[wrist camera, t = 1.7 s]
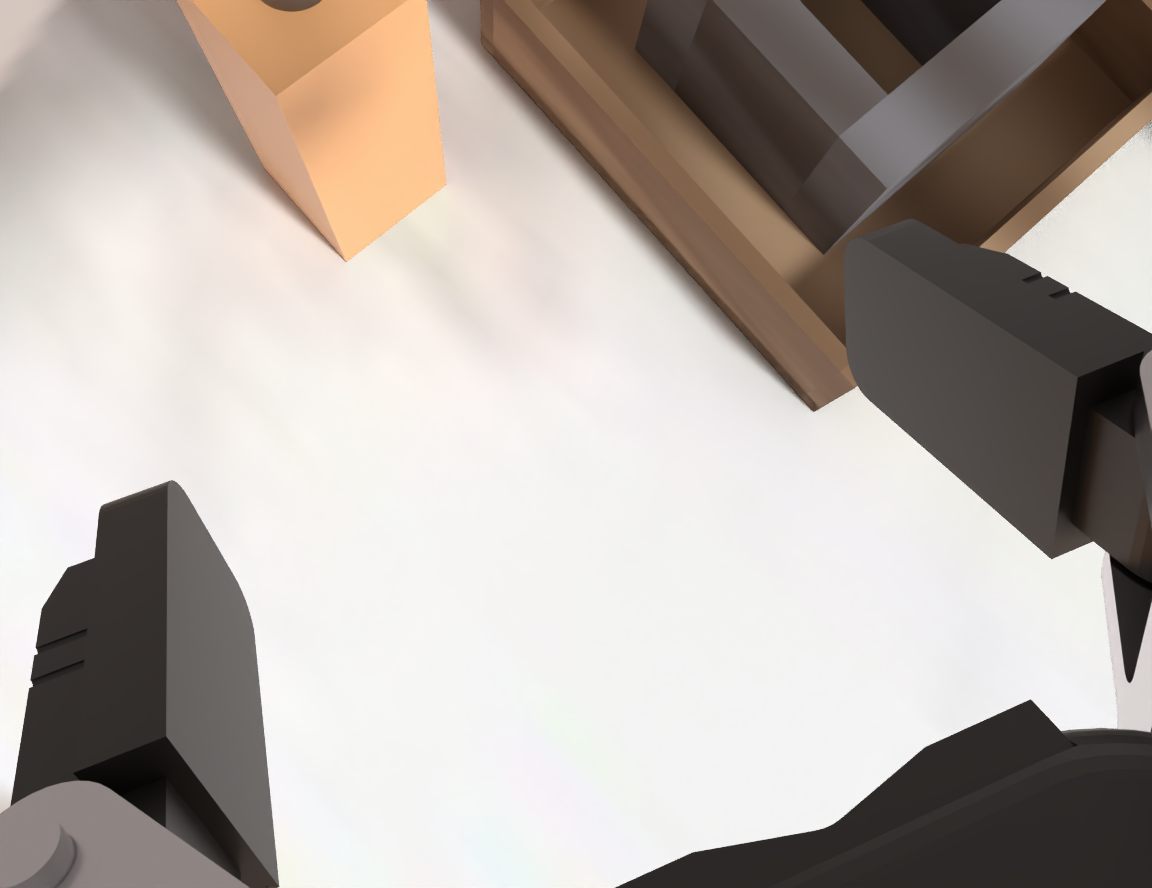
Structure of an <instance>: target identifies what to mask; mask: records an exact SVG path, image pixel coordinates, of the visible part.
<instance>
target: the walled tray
mask: <svg viewBox="0 0 1152 888" xmlns="http://www.w3.org/2000/svg"><path fill="white" fill-rule="evenodd" d="M480 8H481V43H482V44H483V45H484V47H485V48H486V49H487V50H488V51H489V52H490V53H491V54H492V55H493V57H494V58H495V59H496V60H497V61H498V62H499V63H500V64H501V65H502V66H503V68H504V69H505V70H506V71H507V72H508V73H509V74H510V75H511V76H512V78H513V79H514V80H515V81H516V82H517V83H518V84H519V85H520V86H521V88H522V89H523V90H524V91H525V92H526V93H527V94H528V95H529V96H530V98H531V99H532V100H533V101H534V102H535V103H536V104H537V105H538V106H539V108H540V109H541V110H542V111H543V112H544V113H545V114H546V115H547V116H548V118H549V119H550V120H551V121H552V122H553V123H554V124H555V125H556V126H557V127H558V129H559V130H560V131H561V132H562V133H563V134H564V135H565V136H566V137H567V139H568V140H569V141H570V142H571V143H572V144H573V145H574V146H575V147H576V149H577V150H578V151H579V152H580V153H581V154H582V155H583V156H584V157H585V159H586V160H587V161H588V162H589V163H590V164H591V165H592V166H593V167H594V169H595V170H596V171H597V172H598V173H599V174H600V175H601V176H602V177H603V179H604V180H605V181H606V182H607V183H608V184H609V185H610V186H611V187H612V189H613V190H614V191H615V192H616V193H617V194H618V195H619V196H620V197H621V198H622V200H623V201H624V202H625V203H626V204H627V205H628V206H629V207H630V208H631V210H632V211H633V212H634V213H635V214H636V215H637V216H638V217H639V218H640V220H641V221H642V222H643V223H644V224H645V225H646V226H647V227H648V228H649V230H650V231H651V232H652V233H653V234H654V235H655V236H656V237H657V238H658V240H659V241H660V242H661V243H662V244H663V245H664V246H665V247H666V248H667V250H668V251H669V252H670V253H671V254H672V255H673V256H674V257H675V258H676V260H677V261H678V262H679V263H680V264H681V265H682V266H683V267H684V268H685V269H686V271H687V272H688V273H689V274H690V275H691V276H692V277H693V278H694V279H695V281H696V282H697V283H698V284H699V285H700V286H701V287H702V288H703V289H704V291H705V292H706V293H707V294H708V295H709V296H710V297H711V298H712V299H713V301H714V302H715V303H716V304H717V305H718V306H719V307H720V308H721V309H722V311H723V312H724V313H725V314H726V315H727V316H728V317H729V318H730V319H731V321H732V322H733V323H734V324H735V325H736V326H737V327H738V328H739V329H740V330H741V332H742V333H743V334H744V335H745V336H746V337H747V338H748V339H749V340H750V342H751V343H752V344H753V345H754V346H755V347H756V348H757V349H758V350H759V352H760V353H761V354H762V355H763V356H764V357H765V358H766V359H767V360H768V362H769V363H770V364H771V365H772V366H773V367H774V368H775V369H776V370H777V372H778V373H779V374H780V375H781V376H782V377H783V378H784V379H785V380H786V382H787V383H788V384H789V385H790V386H791V387H792V388H793V389H794V390H795V392H796V393H797V394H798V395H799V396H800V397H801V398H802V399H803V400H804V401H805V403H806V404H807V405H808V406H809V407H810V408H811V409H812V410H813V411H814V412H815V411H816V410H818V409H820V408H821V407H823V406H825V405H827V404H828V403H830V402H832V401H833V400H835V399H837V398H838V397H840V396H842V395H844V394H845V393H847V392H849V391H850V390H852V389H854V388H855V387H856V386H858V385H857V383H856V382H855V380H854V377H853V375H852V373H851V370H850V367H849V363H848V359H847V352H846V326H845V293H844V252H845V249H846V246H847V244H848V243H849V242H850V241H851V240H852V239H854V238H857V237H859V236H862V235H865V234H868V233H871V232H873V231H876V230H879V229H882V228H884V227H887V226H890V225H893V224H896V223H898V222H901V221H904V220H907V219H914V220H917V221H920V222H922V223H923V224H925V225H927V226H928V227H930V228H932V229H934V230H935V231H937V232H939V233H941V234H942V235H944V236H946V237H948V238H949V239H951V240H953V241H955V242H956V243H958V244H962V243H965V244H969V245H973V246H977V247H981V248H985V249H990V250H994V251H998V252H1002V253H1005V252H1006V251H1007V250H1008V249H1009V248H1010V247H1011V246H1012V245H1013V244H1015V243H1016V242H1017V241H1018V240H1019V239H1020V238H1021V237H1022V236H1023V235H1024V234H1026V233H1027V232H1028V231H1029V230H1030V229H1031V228H1032V227H1033V226H1034V225H1036V224H1037V223H1038V222H1039V221H1040V220H1041V219H1042V218H1043V217H1044V216H1045V215H1047V214H1048V213H1049V212H1050V211H1051V210H1052V209H1053V208H1054V207H1055V206H1057V205H1058V204H1059V203H1060V202H1061V201H1062V200H1063V199H1064V198H1065V197H1066V196H1068V195H1069V194H1070V193H1071V192H1072V191H1073V190H1074V189H1075V188H1076V187H1078V186H1079V185H1080V184H1081V183H1082V182H1083V181H1084V180H1085V179H1086V178H1087V177H1089V176H1090V175H1091V174H1092V173H1093V172H1094V171H1095V170H1096V169H1097V168H1099V167H1100V166H1101V165H1102V164H1103V163H1104V162H1105V161H1106V160H1107V159H1108V158H1110V157H1111V156H1112V155H1113V154H1114V153H1115V152H1116V151H1117V150H1118V149H1120V148H1121V147H1122V146H1123V145H1124V144H1125V143H1126V142H1127V141H1128V140H1129V139H1131V138H1132V137H1133V136H1134V135H1135V134H1136V133H1137V132H1138V131H1139V130H1141V129H1142V128H1143V127H1144V126H1145V125H1146V124H1147V123H1148V122H1149V121H1150V120H1152V0H480Z"/></svg>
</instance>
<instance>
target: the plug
mask: <svg viewBox="0 0 1152 888" xmlns="http://www.w3.org/2000/svg"><path fill="white" fill-rule="evenodd" d="M177 2H178V4H179V6H180V8H181V10H182V12H183V14H184V16H185V18H186V20H187V21H188V23H189V25H190V27H191V29H192V31H193V33H194V35H195V37H196V39H197V41H198V43H199V44H200V46H201V48H202V50H203V52H204V54H205V56H206V58H207V60H208V62H209V64H210V65H211V67H212V69H213V71H214V73H215V75H216V77H217V79H218V81H219V83H220V85H221V87H222V88H223V90H224V92H225V94H226V96H227V98H228V100H229V102H230V104H231V106H232V108H233V109H234V111H235V113H236V115H237V117H238V119H239V121H240V123H241V125H242V127H243V129H244V131H245V132H246V134H247V136H248V138H249V140H250V142H251V144H252V146H253V148H254V150H255V152H256V154H257V155H258V157H259V159H260V161H261V163H262V165H263V167H264V168H265V169H266V170H267V172H268V173H269V174H270V175H271V176H272V177H273V178H274V180H275V181H276V182H277V183H278V184H279V185H280V186H281V188H282V189H283V190H284V191H285V192H286V193H287V195H288V196H289V197H290V198H291V199H292V200H293V201H294V203H295V204H296V205H297V206H298V207H299V208H300V209H301V211H302V212H303V213H304V214H305V215H306V216H307V217H308V219H309V220H310V221H311V222H312V223H313V224H314V225H315V227H316V228H317V229H318V230H319V231H320V232H321V234H322V235H323V236H324V237H325V238H326V239H327V240H328V242H329V243H330V244H331V245H332V246H333V247H334V248H335V250H336V251H337V252H338V253H339V254H340V255H341V256H342V258H343V259H344V260H345V261H346V262H347V261H348V260H350V259H351V258H352V257H353V256H355V255H356V254H357V253H359V252H360V251H361V250H362V249H364V248H365V247H366V246H368V245H369V244H370V243H372V242H373V241H374V240H375V239H377V238H378V237H379V236H381V235H382V234H383V233H384V232H386V231H387V230H388V229H390V228H391V227H392V226H393V225H395V224H396V223H397V222H399V221H400V220H401V219H403V218H404V217H405V216H406V215H408V214H409V213H410V212H412V211H413V210H414V209H415V208H417V207H418V206H419V205H421V204H422V203H423V202H424V201H426V200H427V199H428V198H430V197H431V196H432V195H433V194H435V193H436V192H437V191H439V190H440V189H441V188H443V187H444V186H445V185H446V178H445V168H444V159H443V150H442V140H441V131H440V122H439V112H438V103H437V93H436V84H435V75H434V65H433V56H432V47H431V37H430V28H429V19H428V9H427V0H177Z"/></svg>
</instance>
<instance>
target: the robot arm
mask: <svg viewBox="0 0 1152 888" xmlns="http://www.w3.org/2000/svg"><path fill="white" fill-rule="evenodd" d="M844 293H845V326H846V352H847V359H848V363H849V367H850V370H851V373H852V375H853V377H854V380H855V382H856V383H857V385H858V387H859V389H860V390H861V392H862V393H863V394H864V395H865V396H866V397H867V398H868V399H869V400H870V401H871V402H872V403H873V404H874V405H875V406H877V407H878V408H879V409H880V410H881V411H882V412H883V413H885V414H886V415H887V416H888V417H889V418H890V419H891V420H893V421H894V422H895V423H896V424H897V425H898V426H899V427H901V428H902V429H903V430H904V431H905V432H906V433H907V434H909V435H910V436H911V437H912V438H913V439H914V440H915V441H917V442H918V443H919V444H920V445H921V446H922V447H923V448H925V449H926V450H927V451H928V452H929V453H930V454H932V455H933V456H934V457H935V458H936V459H937V460H938V461H940V462H941V463H942V464H943V465H944V466H945V467H946V468H948V469H949V470H950V471H951V472H952V473H953V474H954V475H956V476H957V477H958V478H959V479H960V480H961V481H962V482H964V483H965V484H966V485H967V486H968V487H969V488H970V489H972V490H973V491H974V492H975V493H976V494H977V495H978V496H980V497H981V498H982V499H983V500H984V501H985V502H986V503H988V504H989V505H990V506H991V507H992V508H993V509H995V510H996V511H997V512H998V513H999V514H1000V515H1001V516H1003V517H1004V518H1005V519H1006V520H1007V521H1008V522H1009V523H1011V524H1012V525H1013V526H1014V527H1015V528H1016V529H1017V530H1019V531H1020V532H1021V533H1022V534H1023V535H1024V536H1025V537H1027V538H1028V539H1029V540H1030V541H1031V542H1032V543H1033V544H1035V545H1036V546H1037V547H1038V548H1039V549H1040V550H1041V551H1043V552H1044V553H1045V554H1046V555H1047V556H1048V557H1049V558H1051V559H1053V558H1055V557H1058V556H1060V555H1062V554H1065V553H1067V552H1069V551H1072V550H1074V549H1076V548H1079V547H1081V546H1083V545H1086V544H1088V543H1090V542H1093V541H1094V542H1095V543H1096V544H1098V545H1099V546H1100V547H1101V548H1103V549H1104V550H1105V553H1104V559H1103V564H1102V574H1101V577H1102V585H1103V594H1104V602H1105V610H1106V619H1107V627H1108V635H1109V644H1110V652H1111V660H1112V669H1113V677H1114V685H1115V694H1116V702H1117V718H1118V728H1117V729H1107V728H1096V729H1078V730H1067V731H1060V730H1059V729H1058V728H1057V727H1056V726H1055V725H1054V723H1053V722H1052V721H1051V720H1050V719H1049V718H1048V717H1047V716H1046V715H1045V714H1044V713H1043V712H1042V711H1041V710H1040V709H1039V708H1038V707H1037V705H1036V704H1035V703H1034V702H1033V701H1032V700H1028V701H1026V702H1024V703H1022V704H1020V705H1017V706H1015V707H1013V708H1011V709H1008V710H1006V711H1004V712H1002V713H1000V714H997V715H995V716H993V717H991V718H989V719H986V720H984V721H982V722H980V723H978V724H975V725H973V726H971V727H969V728H967V729H964V730H962V731H960V732H958V733H956V734H953V735H951V736H949V737H947V738H944V739H942V740H940V741H938V742H936V743H933V744H931V745H929V746H927V747H925V748H924V749H922V750H921V751H920V752H919V753H918V754H917V755H915V756H914V757H913V758H912V759H911V760H910V761H908V762H907V763H906V764H905V765H904V766H902V767H901V768H900V769H899V770H898V771H897V772H895V773H894V774H893V775H892V776H891V777H890V778H888V779H887V780H886V781H885V782H884V783H882V784H881V785H880V786H879V787H878V788H877V789H875V790H874V791H873V792H872V793H871V794H870V795H868V796H867V797H866V798H865V799H864V800H862V801H861V802H860V803H859V804H858V805H857V806H855V807H854V808H853V809H852V810H851V811H850V812H848V813H847V814H846V815H845V816H844V817H842V818H841V819H840V820H839V821H837V822H836V823H834V824H833V825H831V826H829V827H826V828H824V829H820V830H816V831H811V832H806V833H800V834H794V835H789V836H783V837H777V838H772V839H766V840H761V841H755V842H749V843H744V844H738V845H732V846H727V847H721V848H716V849H710V850H704V851H699V852H693V853H691V854H688V855H686V856H684V857H682V858H680V859H677V860H675V861H673V862H671V863H669V864H666V865H664V866H662V867H660V868H658V869H655V870H653V871H651V872H649V873H647V874H644V875H642V876H640V877H638V878H636V879H633V880H631V881H629V882H627V883H624V884H622V885H620V886H618V887H616V888H1152V334H1151V333H1149V332H1148V331H1146V330H1144V329H1142V328H1140V327H1139V326H1137V325H1135V324H1133V323H1131V322H1130V321H1128V320H1126V319H1124V318H1122V317H1121V316H1119V315H1117V314H1115V313H1113V312H1111V311H1110V310H1108V309H1106V308H1104V307H1102V306H1101V305H1099V304H1097V303H1095V302H1093V301H1092V300H1090V299H1088V298H1086V297H1084V296H1083V295H1081V294H1079V293H1077V292H1073V293H1070V292H1069V288H1068V287H1066V286H1065V285H1063V284H1061V283H1059V282H1057V281H1055V280H1054V279H1052V278H1050V277H1048V276H1047V277H1044V278H1043V277H1042V276H1041V272H1039V271H1037V270H1036V269H1034V268H1032V267H1030V266H1028V265H1027V264H1025V263H1023V262H1021V261H1019V260H1018V259H1016V258H1014V257H1012V256H1010V255H1009V254H1006V253H1002V252H998V251H994V250H990V249H985V248H981V247H977V246H973V245H969V244H965V243H962V244H958V243H956V242H955V241H953V240H951V239H949V238H948V237H946V236H944V235H942V234H941V233H939V232H937V231H935V230H934V229H932V228H930V227H928V226H927V225H925V224H923V223H922V222H920V221H917V220H914V219H907V220H904V221H901V222H898V223H896V224H893V225H890V226H887V227H884V228H882V229H879V230H876V231H873V232H871V233H868V234H865V235H862V236H859V237H857V238H854V239H852V240H851V241H850V242H849V243H848V244H847V246H846V249H845V252H844ZM36 649H37V651H38V654H37V655H34V661H33V668H32V674H31V681H32V684H33V687H31V688H29V693H28V699H27V706H26V712H25V718H24V724H23V731H22V737H21V743H20V750H19V756H18V762H17V769H16V775H15V781H14V787H13V794H12V800H11V806H10V807H9V808H8V809H6V810H5V811H3V812H2V813H1V814H0V888H277V887H279V880H278V870H277V859H276V849H275V839H274V829H273V819H272V809H271V798H270V788H269V778H268V768H267V758H266V747H265V737H264V727H263V717H262V707H261V696H260V686H259V676H258V666H257V656H256V645H255V635H254V629H253V624H252V620H251V616H250V612H249V609H248V606H247V603H246V601H245V598H244V596H243V593H242V591H241V589H240V586H239V584H238V582H237V581H236V579H235V577H234V575H233V573H232V572H231V570H230V568H229V567H228V565H227V563H226V561H225V560H224V558H223V556H222V555H221V553H220V551H219V549H218V548H217V546H216V544H215V542H214V541H213V539H212V537H211V536H210V534H209V532H208V530H207V529H206V527H205V525H204V524H203V522H202V520H201V518H200V517H199V515H198V513H197V512H196V510H195V508H194V506H193V505H192V503H191V501H190V500H189V498H188V496H187V495H186V493H185V492H184V490H183V489H182V488H181V486H180V485H179V484H178V483H177V482H175V481H173V480H172V481H168V482H165V483H163V484H160V485H157V486H154V487H151V488H149V489H146V490H143V491H140V492H137V493H135V494H132V495H129V496H126V497H123V498H121V499H118V500H115V501H112V502H109V503H107V504H104V505H103V506H101V508H100V512H99V519H98V529H97V539H96V549H95V558H93V559H90V560H88V561H85V562H82V563H79V564H77V565H74V566H71V567H68V568H67V570H66V571H65V573H64V574H63V576H62V577H61V579H60V581H59V582H58V584H57V585H56V587H55V589H54V590H53V592H52V593H51V595H50V597H49V598H48V600H47V601H46V603H45V605H44V606H43V608H42V611H41V617H40V624H39V630H38V636H37V643H36Z"/></svg>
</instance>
